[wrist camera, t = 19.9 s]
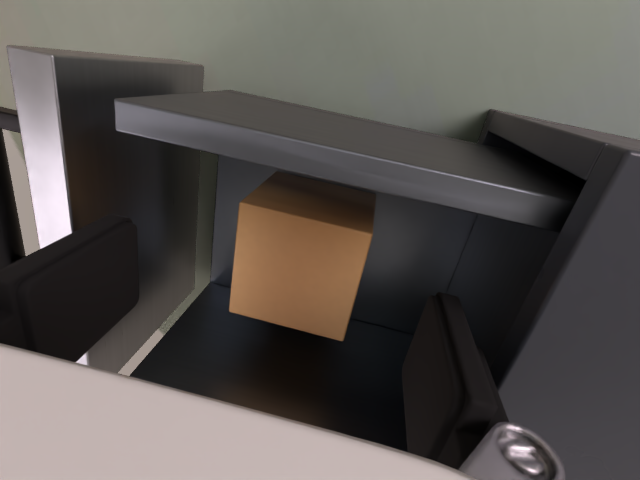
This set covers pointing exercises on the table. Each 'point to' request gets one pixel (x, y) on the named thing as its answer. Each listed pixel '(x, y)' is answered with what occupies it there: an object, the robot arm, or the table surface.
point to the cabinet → (579, 305)
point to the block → (301, 253)
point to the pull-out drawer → (232, 187)
